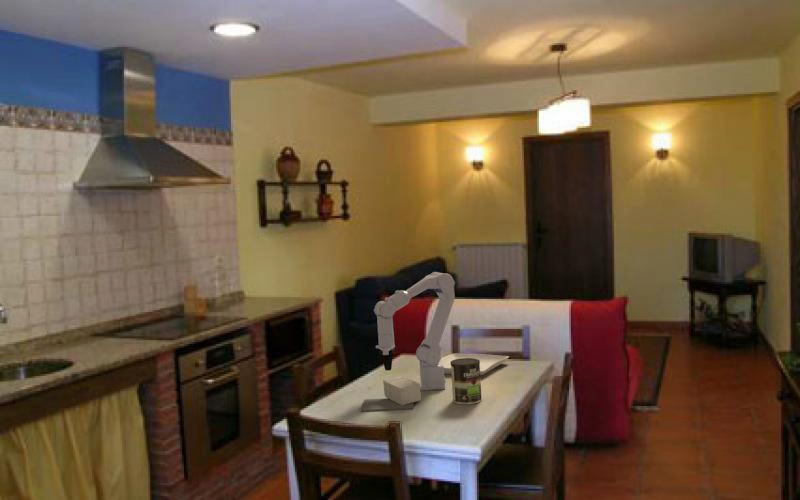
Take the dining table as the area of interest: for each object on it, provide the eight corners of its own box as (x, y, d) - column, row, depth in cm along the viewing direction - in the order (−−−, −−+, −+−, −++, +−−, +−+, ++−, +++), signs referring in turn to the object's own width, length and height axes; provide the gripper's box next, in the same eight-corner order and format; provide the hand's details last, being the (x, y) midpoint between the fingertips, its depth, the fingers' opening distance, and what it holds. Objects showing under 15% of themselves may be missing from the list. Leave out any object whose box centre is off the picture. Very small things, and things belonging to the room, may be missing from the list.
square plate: (510, 364, 306) (510, 355, 306) (483, 380, 282) (483, 370, 282) (453, 360, 320) (452, 351, 320) (423, 375, 296) (422, 366, 296)
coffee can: (487, 401, 252) (485, 361, 252) (462, 406, 248) (460, 366, 247) (471, 394, 262) (469, 356, 261) (447, 400, 257) (444, 361, 256)
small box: (384, 396, 263) (401, 405, 252) (382, 380, 262) (400, 388, 251) (403, 391, 267) (421, 400, 255) (402, 375, 266) (420, 383, 255)
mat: (413, 398, 262) (413, 396, 262) (413, 409, 249) (412, 407, 249) (364, 401, 262) (364, 399, 262) (360, 411, 249) (360, 410, 249)
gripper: (376, 330, 274) (379, 366, 275) (373, 338, 260) (376, 375, 261) (395, 329, 274) (397, 365, 275) (393, 337, 259) (395, 374, 260)
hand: (388, 370), depth 268 cm, fingers closed
